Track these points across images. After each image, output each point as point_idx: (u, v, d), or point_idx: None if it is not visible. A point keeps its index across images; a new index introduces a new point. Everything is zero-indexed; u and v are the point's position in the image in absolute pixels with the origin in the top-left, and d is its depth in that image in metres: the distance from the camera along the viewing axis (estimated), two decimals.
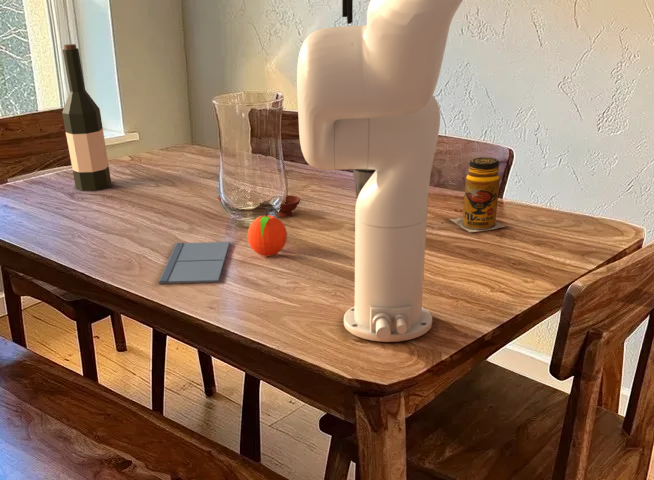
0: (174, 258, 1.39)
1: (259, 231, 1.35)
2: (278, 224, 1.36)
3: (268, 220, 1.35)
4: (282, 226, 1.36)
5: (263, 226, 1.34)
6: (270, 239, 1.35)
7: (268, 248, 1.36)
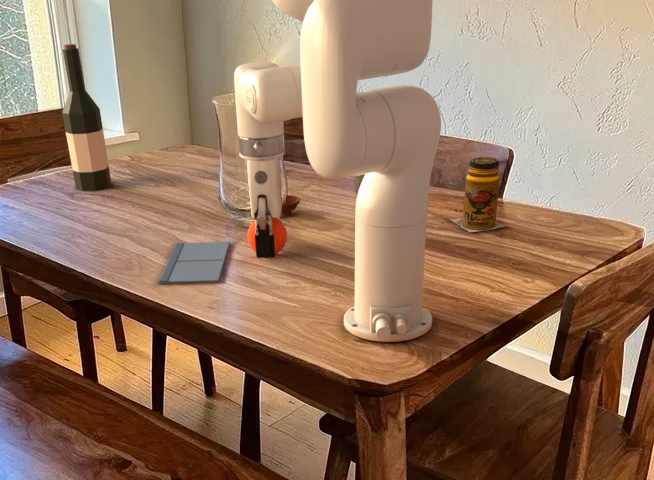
0: (174, 258, 1.39)
1: None
2: (278, 224, 1.36)
3: None
4: (282, 226, 1.36)
5: None
6: None
7: None
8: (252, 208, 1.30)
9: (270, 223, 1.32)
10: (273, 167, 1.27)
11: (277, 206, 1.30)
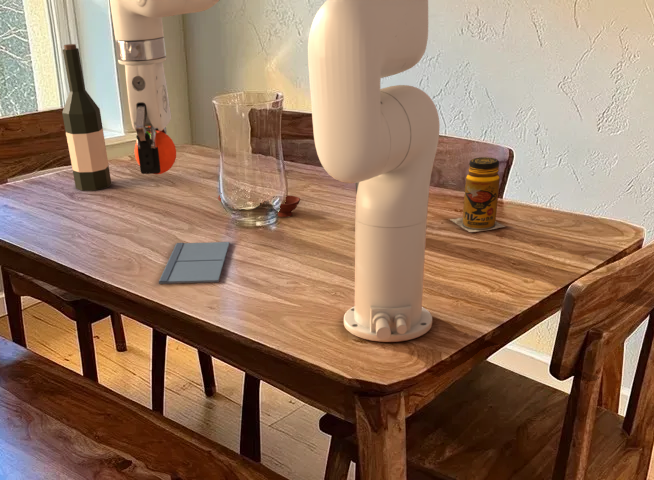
0: (174, 258, 1.39)
1: None
2: (165, 139, 1.29)
3: None
4: (169, 141, 1.30)
5: None
6: None
7: None
8: (132, 118, 1.24)
9: (152, 135, 1.25)
10: (150, 72, 1.20)
11: (158, 116, 1.23)
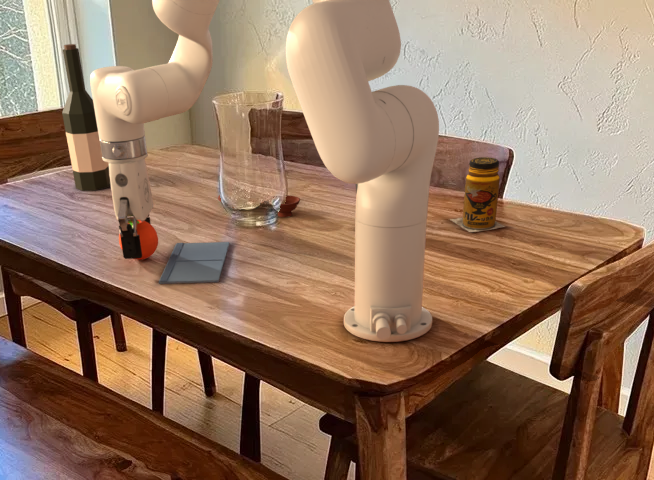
0: (174, 258, 1.39)
1: None
2: (147, 229, 1.37)
3: (137, 224, 1.37)
4: (152, 230, 1.38)
5: None
6: None
7: None
8: (115, 210, 1.32)
9: (134, 224, 1.32)
10: (132, 170, 1.28)
11: (140, 208, 1.31)
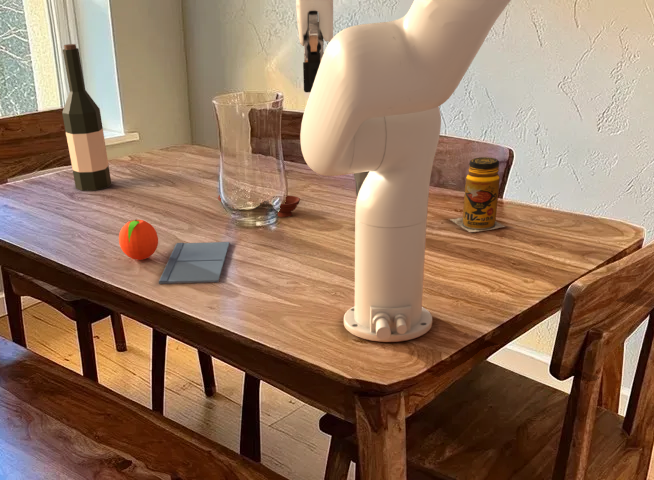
0: (174, 258, 1.39)
1: (127, 235, 1.36)
2: (147, 229, 1.37)
3: (137, 224, 1.37)
4: (152, 230, 1.38)
5: (130, 230, 1.36)
6: (139, 243, 1.37)
7: (137, 252, 1.38)
8: (301, 29, 1.11)
9: (321, 46, 1.12)
10: None
11: (330, 26, 1.11)
